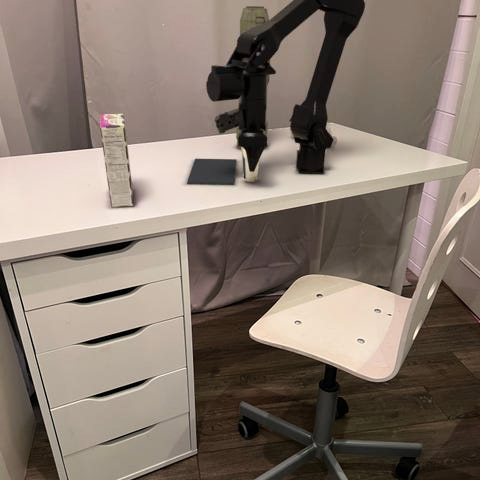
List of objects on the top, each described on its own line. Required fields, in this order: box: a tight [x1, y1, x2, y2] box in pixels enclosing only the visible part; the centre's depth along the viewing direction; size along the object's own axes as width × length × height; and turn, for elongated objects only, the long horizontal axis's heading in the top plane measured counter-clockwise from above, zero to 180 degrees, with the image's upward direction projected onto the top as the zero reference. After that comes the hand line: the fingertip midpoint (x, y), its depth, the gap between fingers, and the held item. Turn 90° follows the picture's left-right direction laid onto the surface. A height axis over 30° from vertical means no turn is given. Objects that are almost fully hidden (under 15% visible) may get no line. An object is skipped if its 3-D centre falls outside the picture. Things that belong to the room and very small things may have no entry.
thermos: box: [235, 5, 271, 151], centre depth 141 cm, size 9×12×35 cm
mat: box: [186, 158, 237, 186], centre depth 129 cm, size 11×20×1 cm, turn 179°
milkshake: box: [241, 147, 260, 183], centre depth 121 cm, size 5×5×10 cm
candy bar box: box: [99, 113, 135, 209], centre depth 107 cm, size 11×5×16 cm, turn 12°
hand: (251, 169), depth 122 cm, fingers closed on milkshake, 4 cm apart
